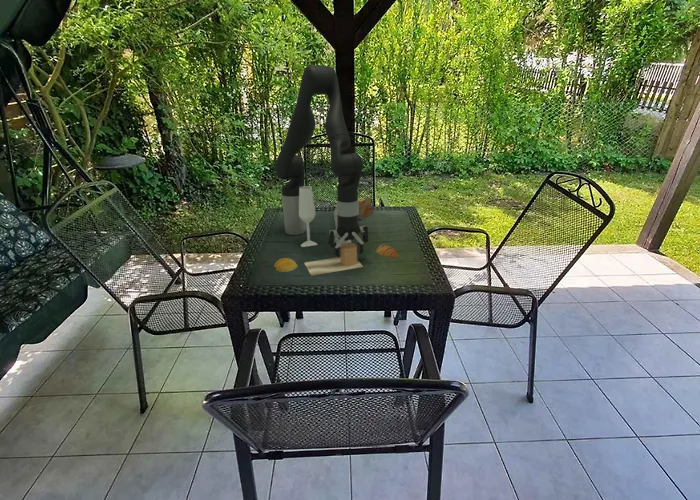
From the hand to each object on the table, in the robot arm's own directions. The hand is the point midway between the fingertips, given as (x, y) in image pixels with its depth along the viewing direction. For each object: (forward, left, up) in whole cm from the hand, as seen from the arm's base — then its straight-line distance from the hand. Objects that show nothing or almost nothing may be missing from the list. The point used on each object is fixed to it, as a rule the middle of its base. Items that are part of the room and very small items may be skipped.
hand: (348, 254), depth 154 cm
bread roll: (-5, -22, -5) cm, 23 cm away
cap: (0, 0, -3) cm, 3 cm away
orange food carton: (-49, +24, -5) cm, 55 cm away
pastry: (-3, +17, -5) cm, 18 cm away
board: (0, -6, -4) cm, 7 cm away
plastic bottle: (-16, +3, -5) cm, 17 cm away
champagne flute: (-24, -9, -5) cm, 26 cm away
